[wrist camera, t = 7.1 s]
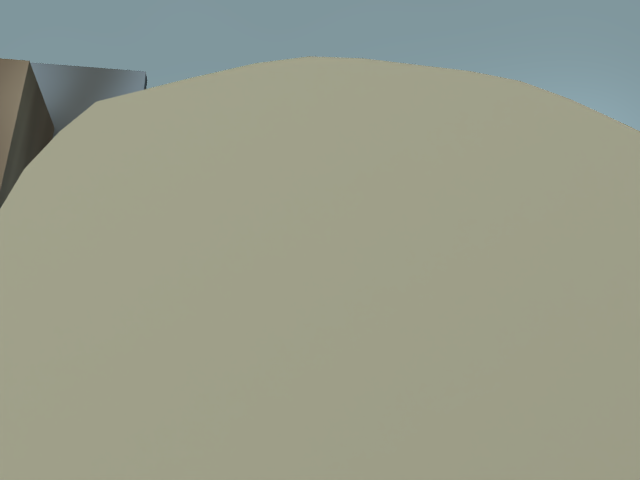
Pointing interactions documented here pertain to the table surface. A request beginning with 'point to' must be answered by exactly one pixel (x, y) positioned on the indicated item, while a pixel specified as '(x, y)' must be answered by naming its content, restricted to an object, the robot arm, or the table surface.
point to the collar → (48, 106)
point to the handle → (325, 283)
